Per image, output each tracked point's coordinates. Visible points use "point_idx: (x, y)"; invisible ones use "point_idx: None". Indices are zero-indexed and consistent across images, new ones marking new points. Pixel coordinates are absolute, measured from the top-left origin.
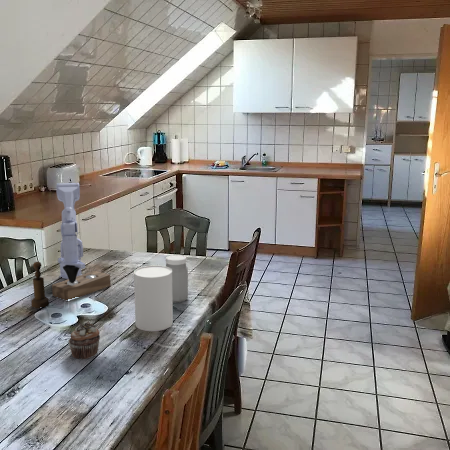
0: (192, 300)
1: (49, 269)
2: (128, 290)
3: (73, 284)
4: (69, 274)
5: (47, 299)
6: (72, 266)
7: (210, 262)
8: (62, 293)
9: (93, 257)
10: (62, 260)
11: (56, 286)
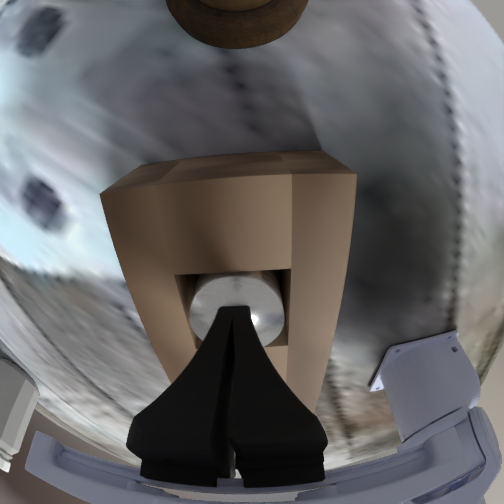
0: None
1: (500, 333)
2: (117, 386)
3: (193, 299)
4: (212, 368)
5: (183, 16)
6: (174, 470)
7: None
8: (194, 167)
9: None
10: (389, 496)
11: (280, 173)
